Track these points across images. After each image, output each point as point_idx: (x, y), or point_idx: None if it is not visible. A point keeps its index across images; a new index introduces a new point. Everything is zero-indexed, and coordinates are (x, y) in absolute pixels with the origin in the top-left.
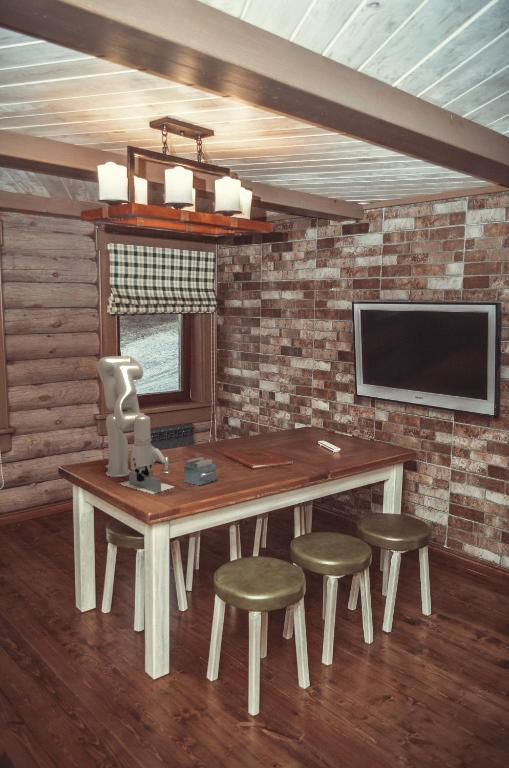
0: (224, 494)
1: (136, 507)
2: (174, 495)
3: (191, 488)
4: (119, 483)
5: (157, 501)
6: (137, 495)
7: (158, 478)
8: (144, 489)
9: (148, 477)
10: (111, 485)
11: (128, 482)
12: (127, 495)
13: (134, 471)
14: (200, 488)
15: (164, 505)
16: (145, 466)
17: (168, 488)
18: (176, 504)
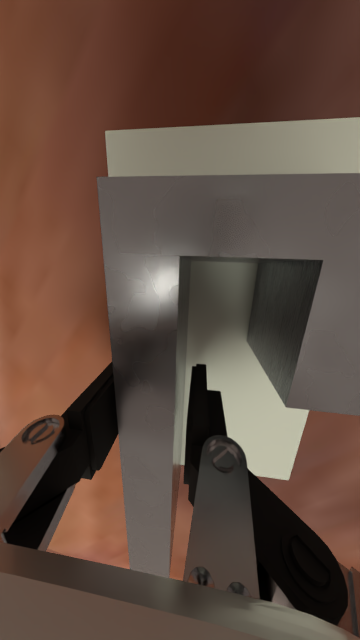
0: None
1: None
2: (187, 518)
3: (318, 530)
4: (110, 134)
5: (93, 504)
6: None
7: (163, 563)
8: None
9: (126, 504)
10: (51, 110)
11: (180, 175)
12: (37, 375)
13: (177, 228)
14: (340, 555)
15: (86, 535)
16: (212, 540)
17: None
18: (121, 555)
